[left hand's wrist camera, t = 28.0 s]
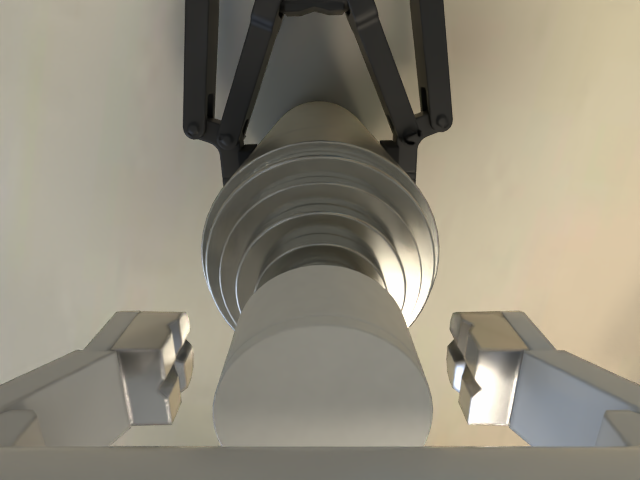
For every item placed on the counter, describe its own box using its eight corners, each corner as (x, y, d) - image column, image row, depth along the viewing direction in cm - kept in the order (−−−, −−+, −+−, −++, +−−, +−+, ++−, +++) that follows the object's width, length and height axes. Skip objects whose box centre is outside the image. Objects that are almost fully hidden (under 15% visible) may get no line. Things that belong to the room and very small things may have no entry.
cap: (424, 276, 9) (458, 341, 7) (387, 418, 11) (405, 510, 8) (244, 251, 9) (220, 309, 7) (229, 399, 11) (205, 488, 8)
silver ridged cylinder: (372, 101, 31) (560, 194, 7) (368, 204, 34) (493, 529, 10) (265, 101, 31) (84, 194, 7) (269, 204, 34) (149, 530, 10)
